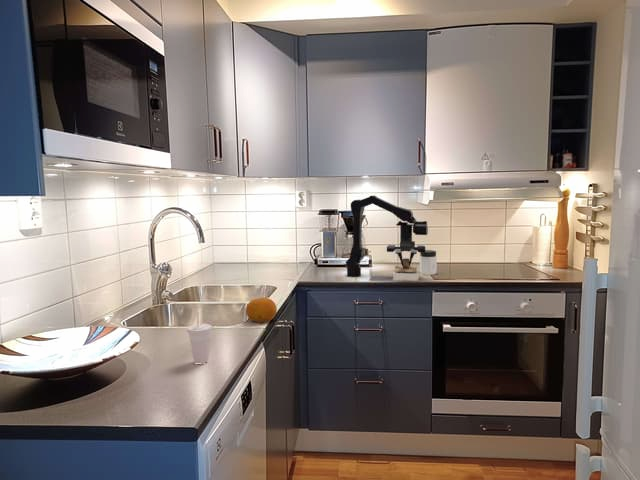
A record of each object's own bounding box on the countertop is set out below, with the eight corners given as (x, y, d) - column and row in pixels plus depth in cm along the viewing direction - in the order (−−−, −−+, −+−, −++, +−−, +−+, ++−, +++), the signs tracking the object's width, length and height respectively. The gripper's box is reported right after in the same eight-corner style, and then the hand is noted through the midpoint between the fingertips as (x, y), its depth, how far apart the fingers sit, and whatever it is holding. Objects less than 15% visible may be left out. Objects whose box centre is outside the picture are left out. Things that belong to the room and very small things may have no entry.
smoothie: (183, 364, 120) (181, 313, 119) (198, 356, 126) (196, 307, 125) (204, 367, 118) (201, 315, 116) (218, 359, 124) (215, 309, 122)
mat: (369, 280, 224) (369, 280, 224) (371, 276, 235) (371, 275, 235) (392, 281, 222) (392, 280, 222) (393, 277, 233) (393, 276, 233)
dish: (393, 281, 222) (393, 273, 222) (394, 276, 234) (394, 268, 234) (418, 282, 220) (418, 273, 219) (418, 277, 231) (418, 269, 231)
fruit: (265, 314, 167) (265, 293, 166) (282, 320, 159) (281, 298, 158) (240, 320, 161) (240, 298, 160) (256, 327, 152) (255, 303, 152)
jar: (427, 275, 235) (428, 252, 234) (416, 273, 242) (416, 251, 241) (439, 273, 240) (440, 251, 239) (428, 271, 247) (428, 249, 245)
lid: (394, 271, 222) (394, 260, 222) (395, 267, 233) (395, 257, 232) (416, 272, 220) (416, 260, 219) (416, 268, 230) (416, 257, 230)
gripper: (386, 236, 218) (385, 268, 220) (425, 236, 215) (425, 269, 216) (387, 233, 229) (387, 264, 231) (425, 234, 225) (425, 265, 227)
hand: (405, 265), depth 226 cm, fingers closed on lid, 3 cm apart
